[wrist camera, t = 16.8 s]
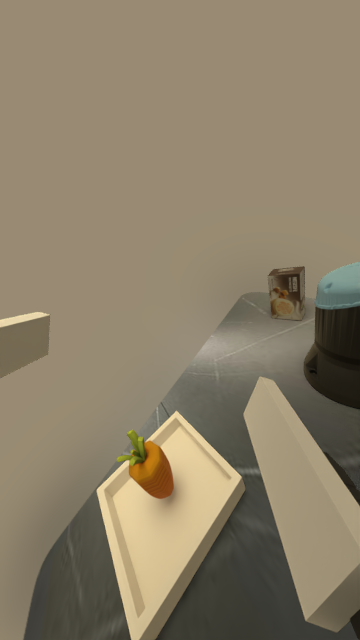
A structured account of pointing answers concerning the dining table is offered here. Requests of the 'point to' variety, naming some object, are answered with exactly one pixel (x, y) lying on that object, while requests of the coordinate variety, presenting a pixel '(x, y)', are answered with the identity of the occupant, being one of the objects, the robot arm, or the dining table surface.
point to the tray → (166, 525)
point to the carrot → (149, 467)
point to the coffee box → (287, 293)
